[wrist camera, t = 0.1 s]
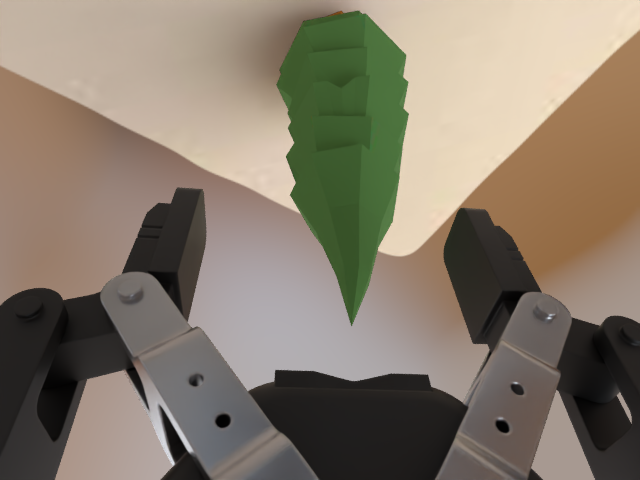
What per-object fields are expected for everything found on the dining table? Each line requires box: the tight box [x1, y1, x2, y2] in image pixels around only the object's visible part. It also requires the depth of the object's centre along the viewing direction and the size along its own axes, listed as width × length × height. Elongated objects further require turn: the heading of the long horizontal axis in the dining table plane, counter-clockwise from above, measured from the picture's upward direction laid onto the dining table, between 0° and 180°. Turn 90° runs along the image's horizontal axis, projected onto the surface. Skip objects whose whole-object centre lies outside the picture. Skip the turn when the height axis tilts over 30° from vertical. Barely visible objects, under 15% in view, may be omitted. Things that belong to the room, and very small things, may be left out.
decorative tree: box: [276, 11, 409, 326], centre depth 28 cm, size 10×9×30 cm
